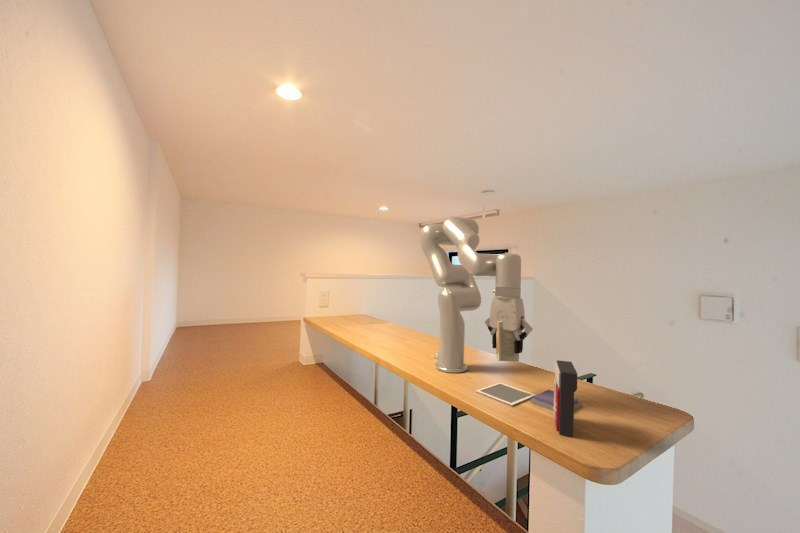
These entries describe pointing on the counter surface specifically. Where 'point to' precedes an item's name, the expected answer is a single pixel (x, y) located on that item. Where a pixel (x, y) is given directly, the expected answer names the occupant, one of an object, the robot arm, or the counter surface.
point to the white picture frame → (506, 394)
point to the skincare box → (505, 344)
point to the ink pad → (549, 400)
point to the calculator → (564, 397)
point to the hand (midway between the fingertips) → (506, 349)
